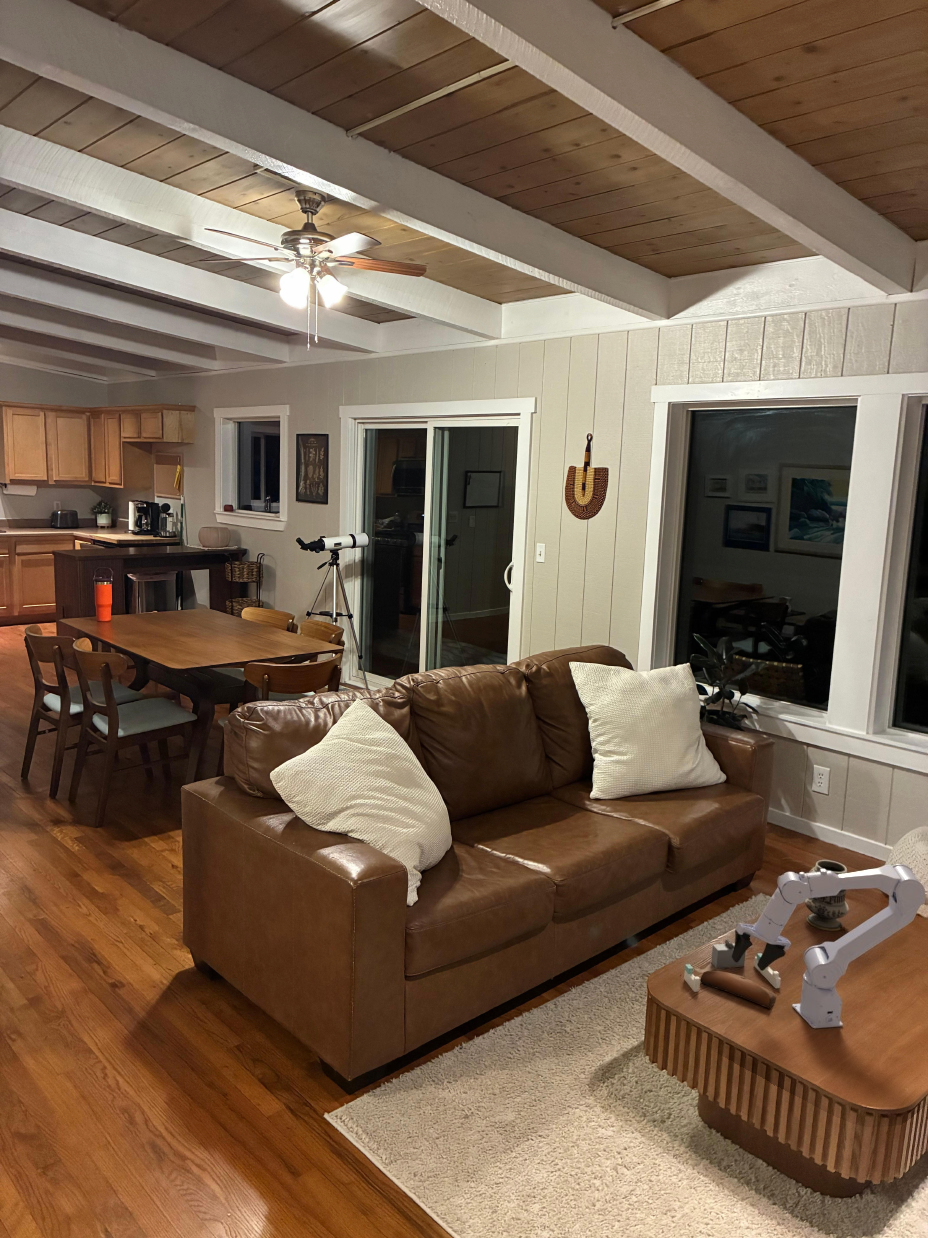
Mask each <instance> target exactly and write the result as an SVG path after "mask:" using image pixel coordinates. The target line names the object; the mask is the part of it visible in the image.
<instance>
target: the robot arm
mask: <svg viewBox="0 0 928 1238" xmlns="http://www.w3.org/2000/svg"><path fill="white" fill-rule="evenodd" d="M843 889H846V890H857V889H858V890H860V889H878V890H880V891H881V892H883V893H885V894H886V895H888V906H886V907H885V908H883V909H882V910H880V911H879V912H877V913H876V914H874V915H873V916H872V917H870V918H868V919H867V920H865V921H864V922H862V923H861V924H859V925H858V926H856V927H855V928H854V929H851V930H850V931H849V932H847V933H845V934H844V935H843V936H841V937H840V938H838V939H837V940H835V941H824V942H822V943H821V944H818V945H813V946H809V947H808V948H807V949H805V951H804V953H803V961H804V964H805V965H806V970H805V972H804V973H803V976H802V983H801V985H802V986H801V987H802V988H801V996H800V1002H799V1003H793V1004H792V1005H791V1006H792V1008H793V1009H795V1011H796V1012H797V1013H798V1015H800V1016H801V1017H802V1018H803V1019H804V1020H805V1021H806V1023H808V1025H809V1026H811V1028H812V1029H822V1028H824V1029H825V1028H834V1027H835V1028H836V1027H842V1026H843V1022H842V1021H841V1016H842V1008H843V1000H842V998H841V996H840V995H839V994H838V991H837V990H836V984H837V983H838V981H839V979H840V978H841V977H843V976H844V975H845V974H846V972H847V968H848V967H849V964H850V963H851V962H853V961H854V960H856V959H857V958H859V957H860V956H862V955H864V954H865V953H866V952H868V951H869V950H871V949H872V948H874V947H875V946H877V945H878V944H881V942H883V941H885V940H886V939H888V938H889V937H891V936H893V934H895V933H897V932H898V931H900V930H902V929H903V928H905V927H906V926H908V925H909V924H911V923H912V922H913V921H914V919H915V917H916V915H917V913H918V911H919V909H920V908H921V907H922V906H923V905H924V904H925V903H926V889H925V887H924V885H923V883H921V882H920V880H919V879H918V878H917V876H916V875H915V873H914V871H913V869H911V868H910V867H909V866H908V865H906V864H903V863H897V864H893V865H892V864H885V865H882V866H880V867H877V868H871V869H864V870H859V871H854V872H853V871H852V872H847V873H846V874H840V875H837V874H835V873H833V872H832V871H826V869H820V872H812V873H809V872H806V873H805V872H804V871H801V872H799V873H797V872H796V873H795V872H794V871H787V872H785V873H783V874H782V875H778V877H777V888H776V889H775V891H774V893H773V894H772V896H771V897H770V899H769V900H768V902H767V904H766V905H765V907H764V909H763V910H762V913H761V914H760V916H759V917H758V919H757V921H756V922H754V923H753V924H749V923H741V922H738V924H737V925H736V927H735V931H734V936H735V938H734V943H735V945H734V950H733V954H732V958H733V960H734V961H735V962H738V961H739V960H740V959H741V957H742V956H743V954H744V953H745V951H747V950H748V949H750V947H752V946H753V945H754V944H753V943H752V941H751V938H755V939H757V940H760V941H763V942H765V947H764V950H763V952H762V956H761V957H760V959H759V961H758V964H757V966H758V967H759V968H760V970H761V971H763V970H764V969H765V968H767V967H768V966H769V967H770V965H771V964H772V963H774V962H775V961H776V960H779V959H780V958H783V957H785V955H786V951H788V950H789V949H790V947H791V946H792V943H791V941H790V940H789V939H788V938H787V937H784V936H782V935H781V933H782V932H783V929H784V928H785V926H786V924H787V923H788V921H789V920H790V918H791V917H792V915H793V913H794V911H795V909H796V907H797V906H798V905H801V904H803V903H805V900H806V899H808V898H815V897H825V896H834V895H837V894H838V892H839V891H840V890H843ZM785 950H786V951H785ZM745 954H746V953H745Z"/></svg>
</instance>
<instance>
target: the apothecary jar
mask: <svg viewBox="0 0 928 1238" xmlns="http://www.w3.org/2000/svg"><path fill="white" fill-rule="evenodd" d="M820 869H826V871H832V872H833V873H835V874H837V875H840V874H846V873H848V869H847V867H846V865H844V864H843V863H840V862H838V861H835V860H829V859H820V860H818V861H816V863H815V866H814V867H812V868H811V869H810V870H809V871H808V873H812V872H820ZM846 894H847V889H843V890H840V891H839V892H838V894H837V895H834V896H825V897H815V898H808V899H806V900H805V901H804V904H805V906H806V908H807V909H808V910H809V912H811V914H809V915H807V917H806V921H807V923H808V924H809V925H810V926H813V927H815V928H817V929H820V930H824V931H829V932H834V931H835V932H836V931H839V930H841V928H842V927H843V923H842V922H841V921H840V920H839V919H841V918H843V917H845V916H847V915H848V913H849V905H848V903H847V902H846Z"/></svg>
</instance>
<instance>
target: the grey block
mask: <svg viewBox="0 0 928 1238" xmlns="http://www.w3.org/2000/svg"><path fill="white" fill-rule="evenodd" d="M734 945H735V942H734V943H732V942H731V941H730V940H729V939H725V940H724V943H719V944H716V943H715V944H712V950H711V961H710V962H711V963H712V965H713V966H714V967H715V968H716V969H720V968H721V969H722V968H736V967H737V968H738V967H745V961H746V951H747V950H746V951H745V953H744V954H743V956H742V957H741V959H740V960H739V961H738V962H735V961H734V960H733V958H732V954H733V950H734Z"/></svg>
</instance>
